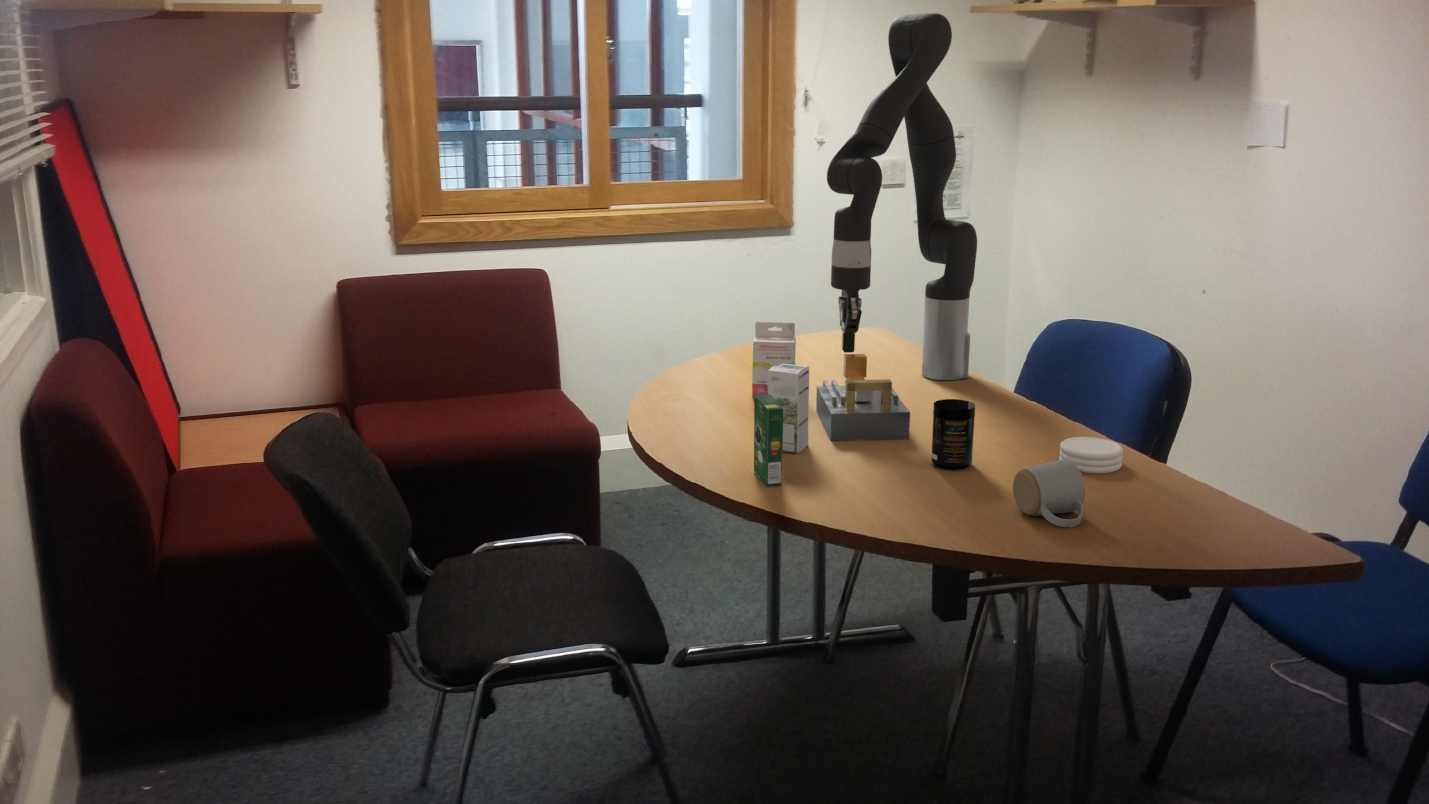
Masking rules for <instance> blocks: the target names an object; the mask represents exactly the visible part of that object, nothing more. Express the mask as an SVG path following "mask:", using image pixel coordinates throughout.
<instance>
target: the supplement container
mask: <svg viewBox="0 0 1429 804" xmlns="http://www.w3.org/2000/svg"><path fill="white" fill-rule="evenodd" d="M932 409H933V411H932V414H933V415H932V416H933V417H932V418H933V419H932V435H931V437H932V438H931V439H932V440H931V457H930V458H931V459H930V461H931V463H932V465H933V466H935V468H938V469H940V470H946V471H963V470H966V469H969V468H970V467H971V466H972V463H973V454H974V453H973V451H974V450H973V448H974V431H975V416H976V404H975V403H974V402H973V401H968V400H965V399H956V398H946V399H939V400H936V401H934V402H933V408H932Z"/></svg>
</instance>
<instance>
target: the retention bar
mask: <svg viewBox="0 0 1429 804" xmlns="http://www.w3.org/2000/svg"><path fill="white" fill-rule="evenodd" d="M867 363H868V356H867V355H866V354H865V353H851V354H850V353H844V354H843V367H842V368H843V372H842V373H843V374H842V375H843V377H844V378H845V380H866V379H865V378H867V372H868V371H867V369H868V368H867V366H868V364H867ZM855 400H856V402H860V401H873V391H855Z"/></svg>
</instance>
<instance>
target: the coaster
mask: <svg viewBox="0 0 1429 804" xmlns="http://www.w3.org/2000/svg"><path fill="white" fill-rule="evenodd" d="M1059 449H1060V450H1059V453H1058V454H1059V457H1058V460H1063V459H1066V460H1070V461H1072V462H1073V463H1074V464H1075V465H1076V466H1077V467H1078V469H1079V471H1080V472H1081V473H1088V474H1109V473H1114V472H1117V471H1118V470H1120V469H1121V467H1122V466H1123V464H1122V463H1123V462H1122V461H1123V457H1124V456H1123V453H1124V449H1123V447H1122V446H1121V445H1120V444H1119V443H1116V441H1114V440H1109V439H1105V438H1101V437H1100V438H1099V437H1094V436H1076V437H1070V438H1066V439H1064V440H1062V441H1061V442H1060V445H1059Z"/></svg>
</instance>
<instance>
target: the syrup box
mask: <svg viewBox="0 0 1429 804" xmlns="http://www.w3.org/2000/svg"><path fill="white" fill-rule="evenodd" d="M768 395H771V396H772V397H773V398H774V399H775V400H776V401H777V402H778V403H779V404H780V405H781V406H782V407H783V408H784V413H783V451H782V453H789V454H790V453H791V454H799V453H800V452H802V451H803V450H804V449H806V447H808V446H809V411H810V410H809V406H810V405H809V403H810V401H809V400H810V399H809V398H810V366H808V365H802V364H801V365H800V364H799V365H796V364H795V365H791V364H781V363H779V364H776V365H774V366H773V367H772V368H770V369H769V370H768Z"/></svg>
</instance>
